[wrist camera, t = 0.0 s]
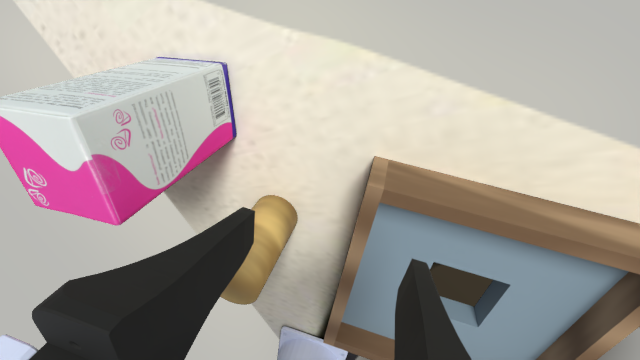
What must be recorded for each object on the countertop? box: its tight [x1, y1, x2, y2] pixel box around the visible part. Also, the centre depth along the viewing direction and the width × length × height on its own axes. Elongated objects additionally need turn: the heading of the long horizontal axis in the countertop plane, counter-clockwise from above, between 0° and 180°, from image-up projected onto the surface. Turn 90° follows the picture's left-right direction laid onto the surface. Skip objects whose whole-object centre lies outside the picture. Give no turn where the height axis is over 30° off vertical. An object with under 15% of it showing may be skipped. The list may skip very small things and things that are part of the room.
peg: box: [220, 195, 298, 304], centre depth 24 cm, size 4×4×8 cm
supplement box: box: [0, 57, 236, 225], centre depth 18 cm, size 6×6×12 cm
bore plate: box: [341, 202, 629, 360], centre depth 25 cm, size 16×16×2 cm
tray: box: [323, 156, 640, 360], centre depth 24 cm, size 18×18×4 cm
